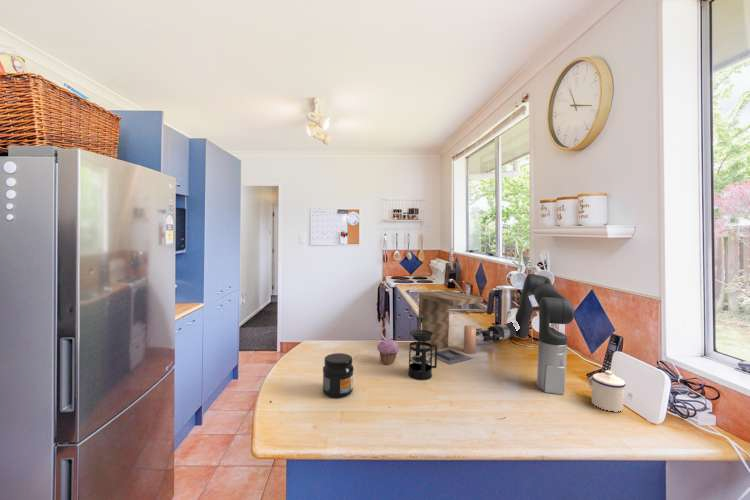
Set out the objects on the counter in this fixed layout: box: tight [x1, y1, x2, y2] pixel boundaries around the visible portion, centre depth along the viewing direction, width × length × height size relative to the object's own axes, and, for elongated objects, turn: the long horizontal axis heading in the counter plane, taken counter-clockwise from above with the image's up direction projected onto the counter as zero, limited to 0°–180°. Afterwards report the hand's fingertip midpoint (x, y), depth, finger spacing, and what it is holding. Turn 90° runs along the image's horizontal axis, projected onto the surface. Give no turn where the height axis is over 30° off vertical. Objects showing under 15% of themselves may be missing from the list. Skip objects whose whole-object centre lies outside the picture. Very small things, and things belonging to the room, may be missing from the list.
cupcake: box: [377, 339, 399, 366], centre depth 144 cm, size 9×9×10 cm
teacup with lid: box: [587, 369, 626, 413], centre depth 112 cm, size 12×9×12 cm
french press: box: [407, 316, 438, 381], centre depth 132 cm, size 12×9×23 cm
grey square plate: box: [427, 348, 473, 365], centre depth 153 cm, size 14×14×2 cm
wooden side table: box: [417, 290, 484, 354], centre depth 153 cm, size 18×22×28 cm
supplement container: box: [322, 352, 355, 399], centre depth 116 cm, size 10×10×12 cm
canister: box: [462, 324, 477, 355], centre depth 160 cm, size 6×6×12 cm
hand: (477, 336), depth 162 cm, fingers open, 8 cm apart
